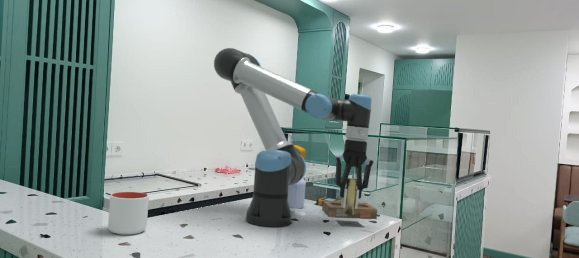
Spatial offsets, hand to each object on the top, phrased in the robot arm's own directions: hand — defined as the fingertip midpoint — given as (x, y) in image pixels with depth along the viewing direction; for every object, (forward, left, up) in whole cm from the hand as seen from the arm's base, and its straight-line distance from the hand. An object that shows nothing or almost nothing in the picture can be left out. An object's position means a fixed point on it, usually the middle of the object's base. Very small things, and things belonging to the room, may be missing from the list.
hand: (349, 207), depth 142 cm
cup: (-68, -18, -6) cm, 71 cm away
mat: (+1, 0, -6) cm, 6 cm away
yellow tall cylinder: (0, 0, -2) cm, 2 cm away
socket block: (+5, +15, -6) cm, 17 cm away
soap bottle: (-15, +26, -6) cm, 31 cm away
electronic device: (+4, +29, -7) cm, 30 cm away
